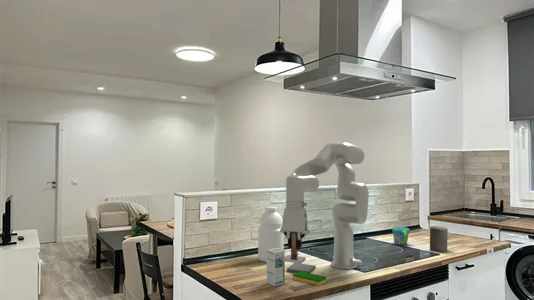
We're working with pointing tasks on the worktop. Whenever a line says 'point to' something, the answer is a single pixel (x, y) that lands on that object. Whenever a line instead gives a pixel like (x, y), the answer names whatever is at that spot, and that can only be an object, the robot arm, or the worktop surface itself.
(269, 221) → the bottle
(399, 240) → the snack cup
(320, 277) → the dish sponge
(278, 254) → the syrup box
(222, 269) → the worktop surface
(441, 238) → the pillar candle
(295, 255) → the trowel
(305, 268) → the rubber mat
